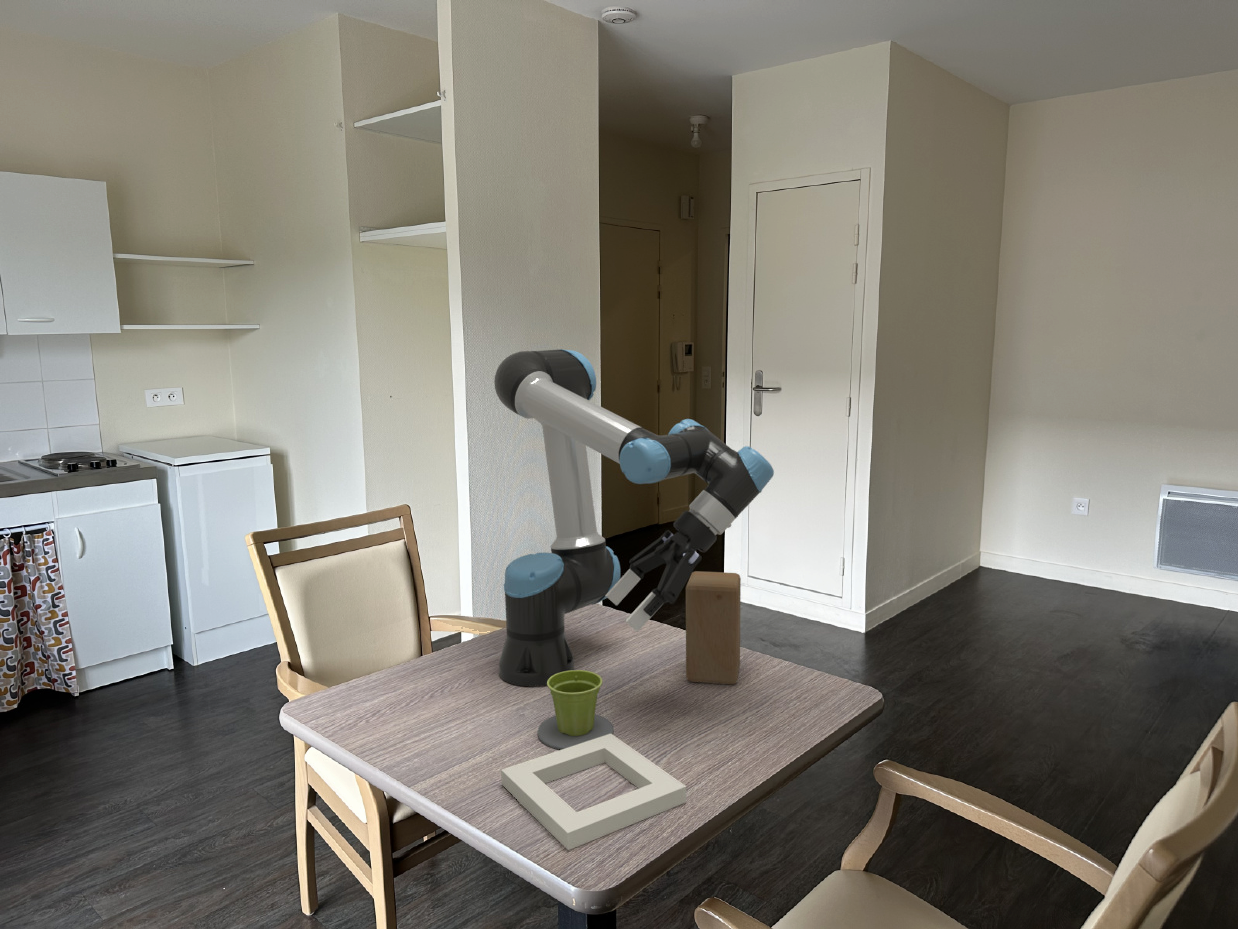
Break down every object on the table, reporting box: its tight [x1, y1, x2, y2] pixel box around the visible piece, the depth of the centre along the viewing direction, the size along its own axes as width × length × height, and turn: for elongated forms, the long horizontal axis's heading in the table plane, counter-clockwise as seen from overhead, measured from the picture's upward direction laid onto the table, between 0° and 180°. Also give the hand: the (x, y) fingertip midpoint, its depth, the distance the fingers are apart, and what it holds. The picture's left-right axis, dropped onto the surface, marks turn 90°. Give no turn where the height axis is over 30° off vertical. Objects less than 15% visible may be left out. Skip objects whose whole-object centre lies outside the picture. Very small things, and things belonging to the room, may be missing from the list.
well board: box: [500, 734, 687, 851], centre depth 126 cm, size 20×20×2 cm
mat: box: [537, 713, 615, 751], centre depth 145 cm, size 13×13×1 cm
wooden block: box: [685, 570, 742, 685], centre depth 167 cm, size 10×10×20 cm
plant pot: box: [546, 669, 603, 736], centre depth 145 cm, size 9×9×9 cm
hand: (620, 613), depth 146 cm, fingers open, 13 cm apart
